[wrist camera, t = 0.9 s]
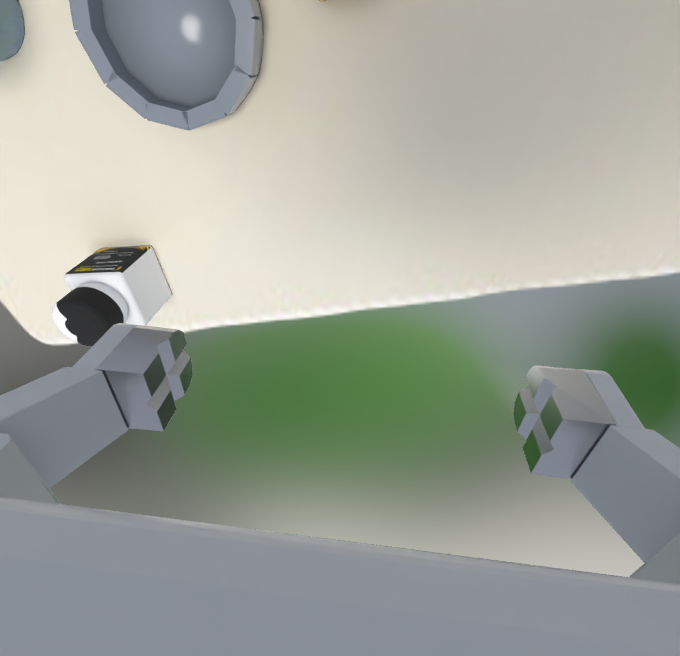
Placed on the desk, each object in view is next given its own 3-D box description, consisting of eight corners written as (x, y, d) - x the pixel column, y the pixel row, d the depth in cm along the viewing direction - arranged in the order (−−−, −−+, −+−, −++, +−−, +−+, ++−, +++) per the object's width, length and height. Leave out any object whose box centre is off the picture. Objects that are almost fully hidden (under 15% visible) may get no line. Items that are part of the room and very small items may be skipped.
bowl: (210, -143, 28) (192, -160, 25) (289, 91, 36) (282, 95, 34) (52, -50, 32) (24, -57, 29) (156, 142, 40) (141, 148, 38)
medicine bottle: (152, 244, 47) (91, 297, 38) (173, 294, 51) (123, 354, 42) (99, 247, 48) (27, 299, 39) (124, 296, 53) (64, 354, 43)
